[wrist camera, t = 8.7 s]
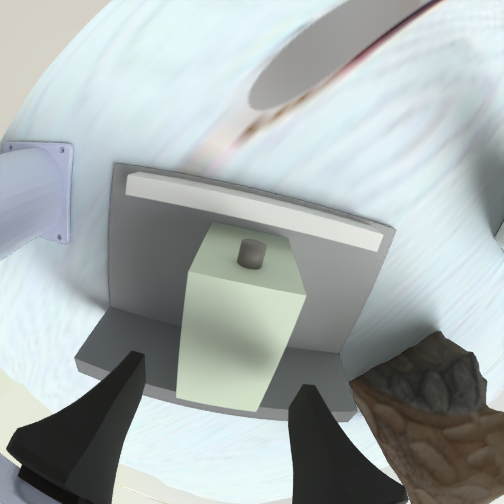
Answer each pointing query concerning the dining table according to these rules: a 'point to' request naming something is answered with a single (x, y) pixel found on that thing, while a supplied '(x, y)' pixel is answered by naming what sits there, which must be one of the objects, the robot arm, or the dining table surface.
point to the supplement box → (500, 236)
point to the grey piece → (182, 256)
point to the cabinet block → (237, 316)
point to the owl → (435, 423)
